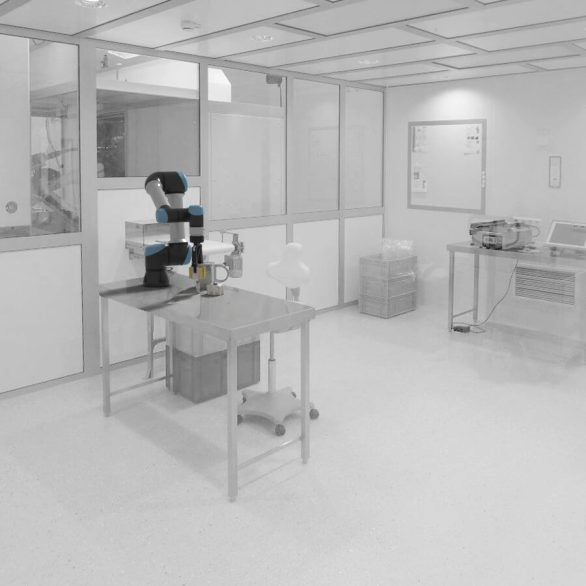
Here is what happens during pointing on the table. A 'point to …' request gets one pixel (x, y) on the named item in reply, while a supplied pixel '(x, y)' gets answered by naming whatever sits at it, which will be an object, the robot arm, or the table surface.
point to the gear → (215, 289)
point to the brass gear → (200, 272)
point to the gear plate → (197, 287)
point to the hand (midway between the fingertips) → (197, 277)
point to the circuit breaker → (208, 275)
